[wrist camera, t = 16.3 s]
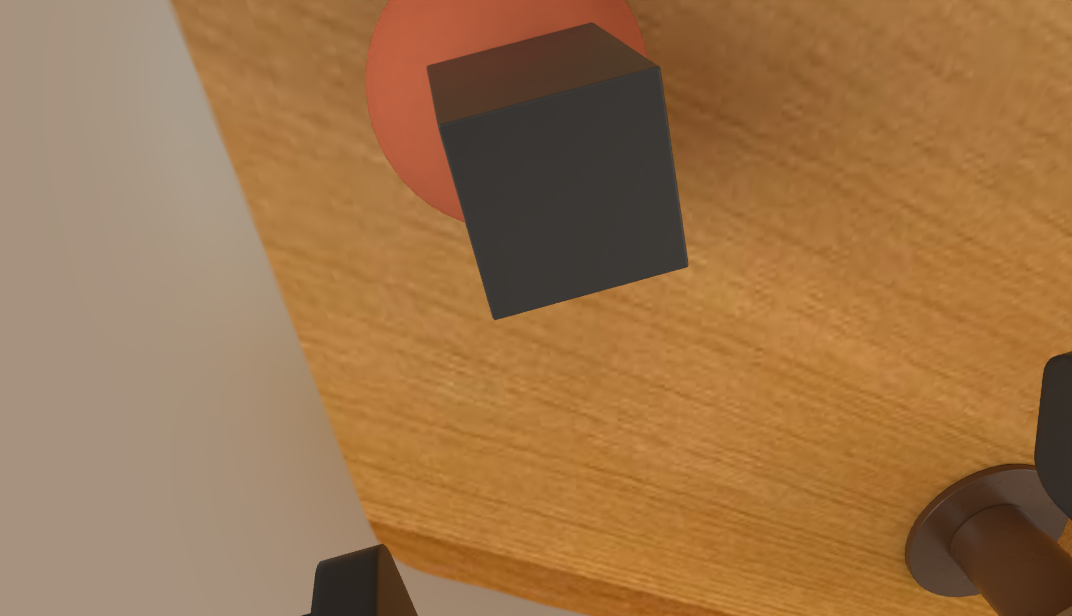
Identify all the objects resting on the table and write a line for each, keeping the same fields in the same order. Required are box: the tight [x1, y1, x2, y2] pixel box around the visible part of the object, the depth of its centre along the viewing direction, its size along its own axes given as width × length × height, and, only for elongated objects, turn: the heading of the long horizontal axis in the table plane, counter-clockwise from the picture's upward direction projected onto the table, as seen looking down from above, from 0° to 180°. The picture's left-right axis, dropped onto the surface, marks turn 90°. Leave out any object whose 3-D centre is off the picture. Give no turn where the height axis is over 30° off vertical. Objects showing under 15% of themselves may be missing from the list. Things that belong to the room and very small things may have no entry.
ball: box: [366, 0, 648, 222], centre depth 26 cm, size 9×9×10 cm
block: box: [426, 22, 688, 320], centre depth 19 cm, size 4×4×6 cm
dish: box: [905, 464, 1072, 616], centre depth 43 cm, size 14×14×11 cm
